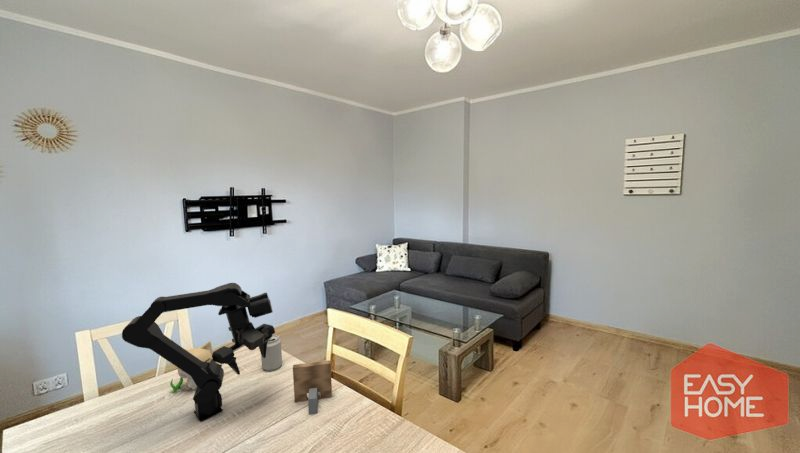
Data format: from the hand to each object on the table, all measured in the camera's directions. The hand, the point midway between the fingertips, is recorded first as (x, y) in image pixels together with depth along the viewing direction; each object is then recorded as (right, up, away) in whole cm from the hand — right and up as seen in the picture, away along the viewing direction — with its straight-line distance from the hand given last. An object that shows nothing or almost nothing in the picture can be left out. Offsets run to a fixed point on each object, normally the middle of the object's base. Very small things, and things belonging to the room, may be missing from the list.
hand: (251, 365), depth 107 cm
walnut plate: (+19, -12, +3) cm, 23 cm away
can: (-2, -10, +22) cm, 24 cm away
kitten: (-25, -12, +11) cm, 30 cm away
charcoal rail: (+20, -12, +3) cm, 23 cm away
